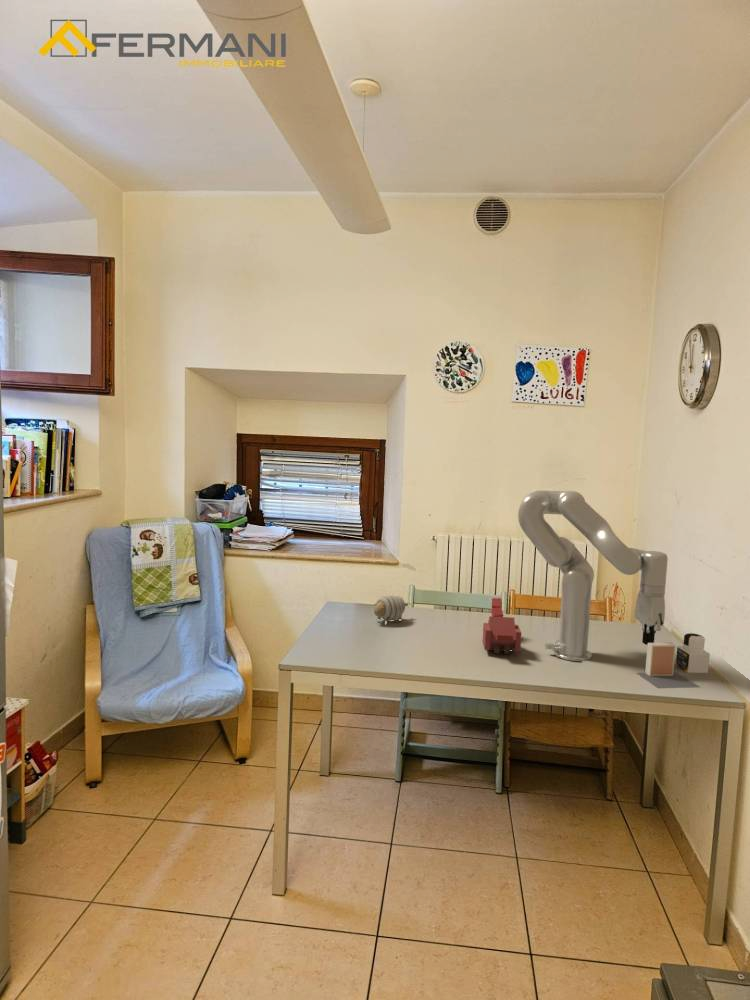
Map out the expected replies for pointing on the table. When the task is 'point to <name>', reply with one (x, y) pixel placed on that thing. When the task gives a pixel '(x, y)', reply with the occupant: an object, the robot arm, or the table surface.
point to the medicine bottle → (693, 654)
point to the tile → (660, 659)
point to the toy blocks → (501, 631)
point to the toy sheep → (390, 607)
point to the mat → (669, 681)
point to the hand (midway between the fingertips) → (648, 643)
